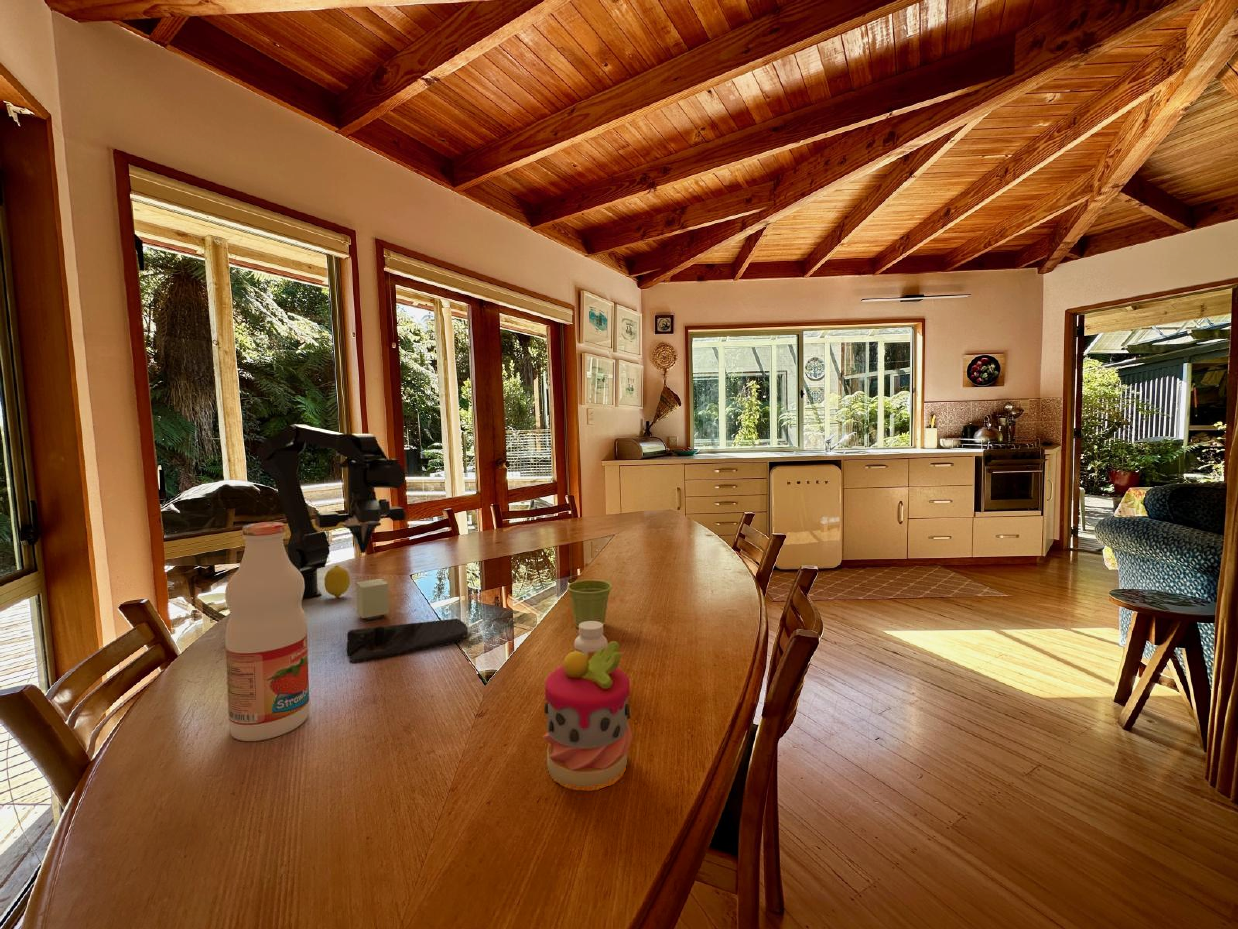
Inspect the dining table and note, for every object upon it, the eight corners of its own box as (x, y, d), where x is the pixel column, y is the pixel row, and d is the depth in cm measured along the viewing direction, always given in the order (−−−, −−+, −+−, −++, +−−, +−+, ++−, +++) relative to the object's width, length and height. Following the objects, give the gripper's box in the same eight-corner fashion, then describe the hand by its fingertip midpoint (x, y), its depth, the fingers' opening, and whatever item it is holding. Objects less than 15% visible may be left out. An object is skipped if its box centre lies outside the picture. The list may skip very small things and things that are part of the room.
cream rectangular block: (357, 611, 118) (356, 582, 118) (382, 607, 121) (381, 578, 121) (363, 618, 114) (362, 587, 114) (388, 613, 117) (388, 583, 117)
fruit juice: (247, 710, 78) (240, 520, 76) (318, 703, 80) (313, 518, 79) (215, 747, 69) (206, 532, 67) (296, 738, 71) (289, 529, 69)
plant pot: (559, 630, 110) (559, 589, 110) (579, 616, 119) (579, 577, 118) (600, 637, 107) (600, 594, 106) (618, 622, 115) (618, 582, 115)
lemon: (355, 594, 134) (354, 563, 133) (341, 601, 128) (340, 568, 128) (334, 593, 134) (333, 562, 134) (319, 600, 129) (318, 567, 128)
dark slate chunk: (472, 649, 102) (471, 624, 101) (342, 668, 93) (341, 641, 93) (463, 622, 116) (463, 601, 116) (350, 637, 108) (349, 613, 107)
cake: (559, 803, 59) (559, 670, 58) (534, 751, 69) (534, 636, 68) (644, 779, 63) (645, 655, 62) (610, 733, 73) (610, 625, 72)
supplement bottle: (612, 678, 89) (612, 621, 88) (600, 693, 84) (600, 632, 83) (582, 673, 91) (582, 617, 90) (568, 688, 85) (568, 628, 85)
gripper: (323, 492, 114) (325, 565, 115) (412, 487, 126) (414, 553, 127) (313, 488, 122) (315, 555, 123) (398, 483, 134) (399, 545, 135)
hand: (362, 552), depth 127 cm, fingers closed
